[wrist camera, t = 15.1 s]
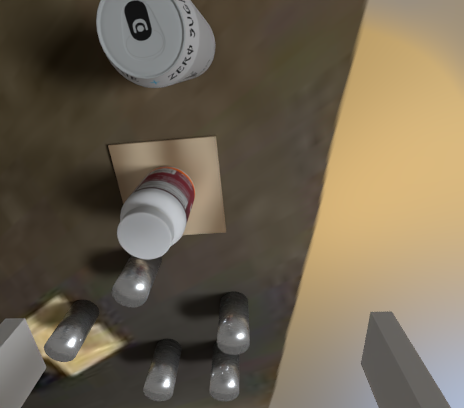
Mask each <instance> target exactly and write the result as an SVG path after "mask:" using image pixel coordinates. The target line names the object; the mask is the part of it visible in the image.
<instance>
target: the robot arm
mask: <svg viewBox="0 0 464 408" xmlns="http://www.w3.org/2000/svg"><path fill="white" fill-rule="evenodd" d="M361 365H362V367H363V370H364V372H365V375H366V377H367V380H368V382H369V384H370V387H371V390H372V392H373V395H374V397H375V399H376V402H377V404H378V406H379V408H450V405H449V404H448V402H447V401H446V399H445V397H444V396H443V394H442V392H441V391H440V389H439V388H438V386H437V384H436V383H435V381H434V379H433V378H432V376H431V375H430V373H429V371H428V370H427V368H426V366H425V365H424V363H423V362H422V360H421V358H420V357H419V355H418V353H417V352H416V350H415V348H414V347H413V345H412V344H411V342H410V340H409V339H408V338H407V336H406V334H405V332H404V331H403V329H402V327H401V326H400V324H399V322H398V321H397V319H396V318H395V316H394V314H393V313H392V312H371V313H370V318H369V324H368V329H367V334H366V340H365V345H364V350H363V356H362V361H361ZM45 369H46V365H45V363H44V361H43V359H42V356H41V354H40V352H39V350H38V347H37V345H36V343H35V340H34V338H33V336H32V334H31V331H30V329H29V327H28V324H27V322H26V320H25V318H18V319H5V320H4V321H3V322H2V323H1V324H0V408H21V406H22V405H23V403H24V401H25V400H26V398H27V397H28V395H29V394H30V392H31V391H32V389H33V387H34V386H35V384H36V383H37V381H38V380H39V378H40V376H41V375H42V373H43V372H44V370H45Z"/></svg>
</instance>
